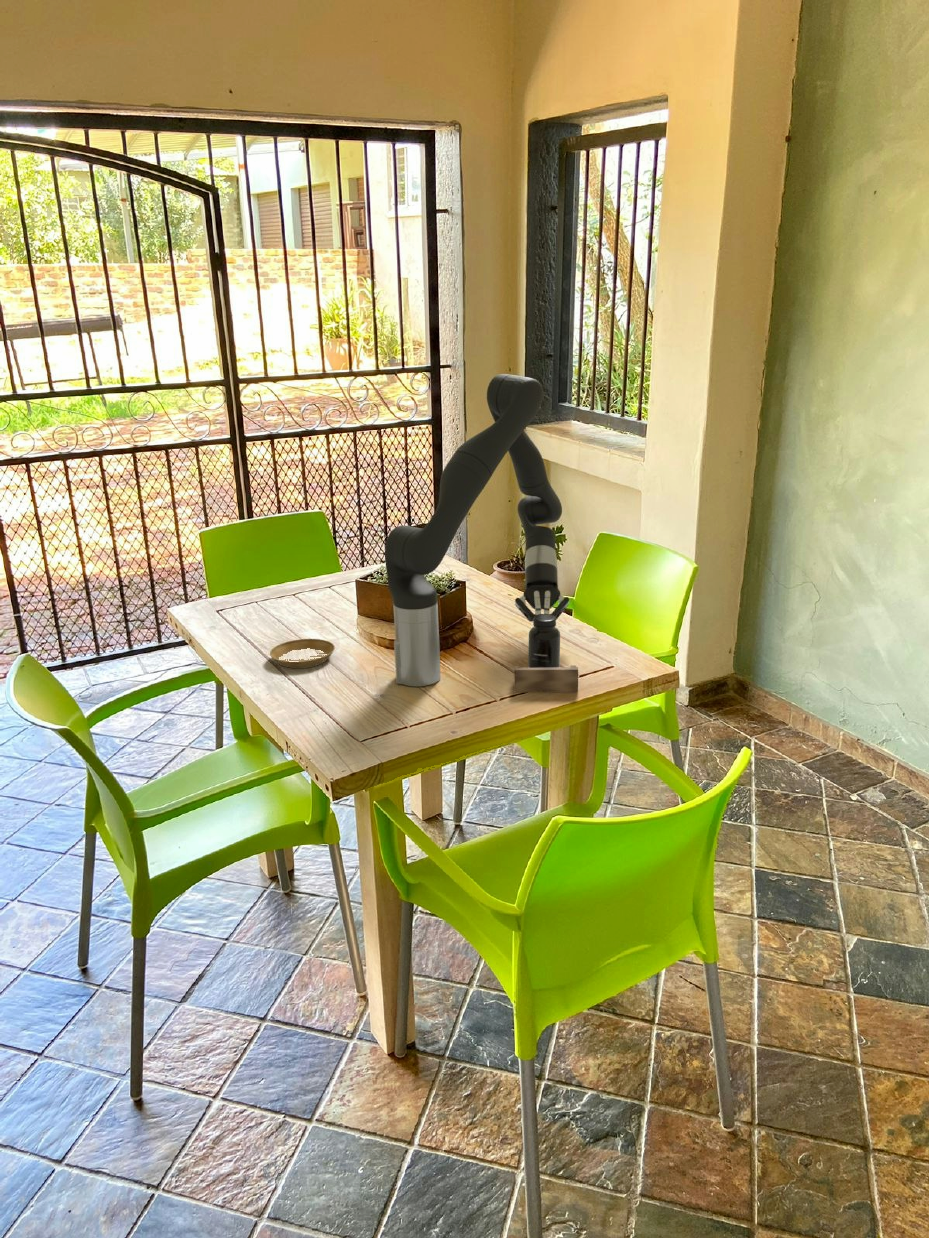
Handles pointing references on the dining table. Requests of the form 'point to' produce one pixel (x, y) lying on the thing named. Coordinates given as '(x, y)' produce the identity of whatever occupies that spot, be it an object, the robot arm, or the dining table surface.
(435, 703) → the dining table surface
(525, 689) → the block
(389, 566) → the robot arm
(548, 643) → the supplement bottle
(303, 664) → the plant saucer
